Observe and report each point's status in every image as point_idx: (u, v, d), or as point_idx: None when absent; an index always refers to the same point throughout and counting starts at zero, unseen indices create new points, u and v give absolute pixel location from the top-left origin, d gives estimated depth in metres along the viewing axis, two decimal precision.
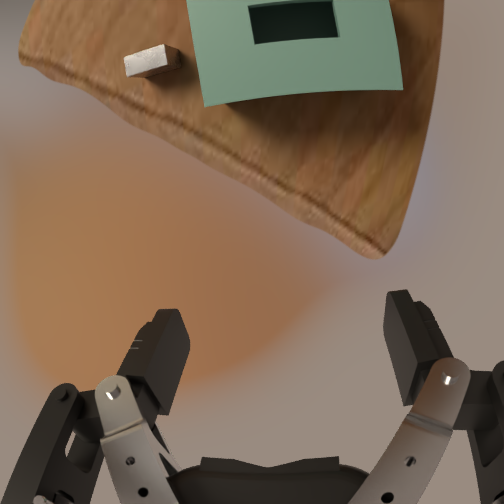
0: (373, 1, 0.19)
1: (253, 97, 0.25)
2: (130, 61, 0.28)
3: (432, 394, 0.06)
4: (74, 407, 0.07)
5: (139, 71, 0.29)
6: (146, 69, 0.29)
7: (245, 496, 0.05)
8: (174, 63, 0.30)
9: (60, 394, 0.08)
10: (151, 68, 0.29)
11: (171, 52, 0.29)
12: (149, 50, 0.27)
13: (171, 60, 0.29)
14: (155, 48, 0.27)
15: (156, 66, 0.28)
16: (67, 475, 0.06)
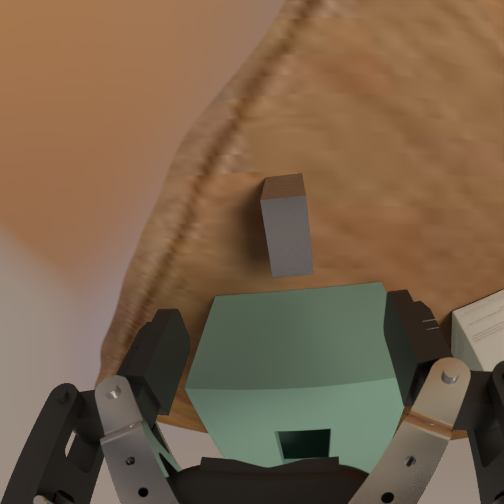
0: None
1: (204, 424, 0.20)
2: (294, 208, 0.17)
3: (432, 394, 0.06)
4: (74, 407, 0.07)
5: (267, 226, 0.18)
6: (269, 240, 0.18)
7: (245, 496, 0.05)
8: None
9: (60, 394, 0.08)
10: (269, 248, 0.19)
11: None
12: (307, 248, 0.18)
13: None
14: (308, 259, 0.19)
15: (271, 259, 0.19)
16: (67, 475, 0.06)
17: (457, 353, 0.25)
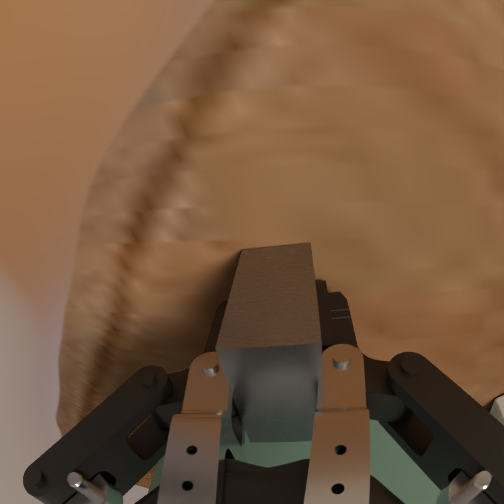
0: None
1: None
2: (292, 365, 0.07)
3: (331, 383, 0.07)
4: (166, 390, 0.08)
5: (235, 387, 0.08)
6: (240, 405, 0.08)
7: (245, 496, 0.05)
8: None
9: (146, 378, 0.08)
10: None
11: None
12: None
13: None
14: None
15: (247, 425, 0.09)
16: (119, 459, 0.07)
17: None
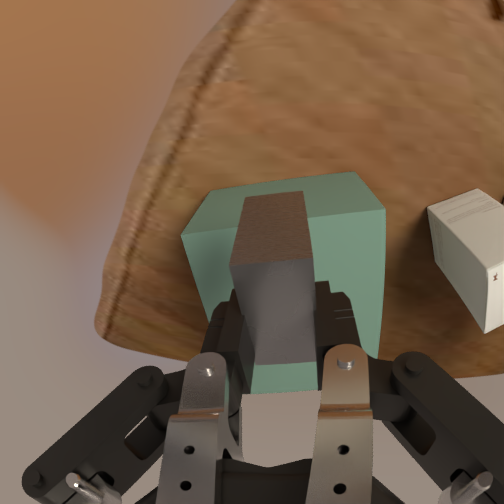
0: None
1: (198, 287, 0.24)
2: (291, 279, 0.10)
3: (335, 383, 0.07)
4: (162, 390, 0.08)
5: (244, 304, 0.10)
6: (247, 322, 0.11)
7: (245, 496, 0.05)
8: None
9: (143, 378, 0.08)
10: (249, 331, 0.11)
11: None
12: (311, 332, 0.11)
13: None
14: (312, 345, 0.11)
15: (253, 345, 0.11)
16: (117, 459, 0.07)
17: (438, 248, 0.28)
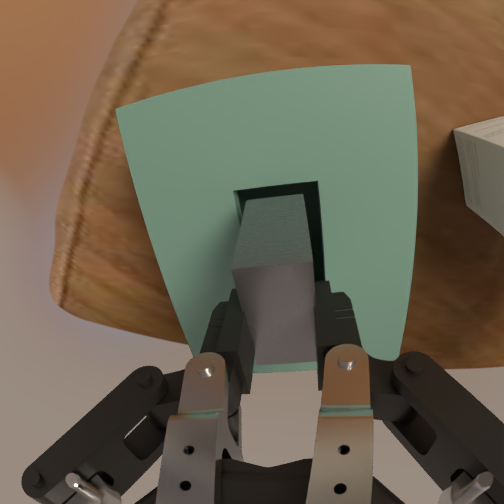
0: None
1: (137, 190, 0.15)
2: (291, 282, 0.10)
3: (336, 383, 0.07)
4: (161, 390, 0.08)
5: (246, 306, 0.11)
6: (249, 324, 0.11)
7: (245, 496, 0.05)
8: None
9: (142, 378, 0.08)
10: None
11: None
12: (311, 333, 0.11)
13: None
14: (312, 346, 0.11)
15: (255, 345, 0.12)
16: (117, 459, 0.07)
17: (472, 180, 0.20)
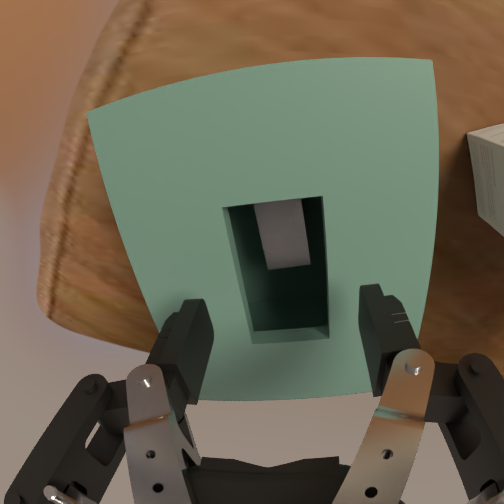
0: (325, 382, 0.17)
1: (113, 206, 0.13)
2: None
3: (398, 386, 0.07)
4: (104, 398, 0.08)
5: (259, 215, 0.17)
6: (261, 230, 0.17)
7: (245, 496, 0.05)
8: None
9: (88, 385, 0.08)
10: (263, 239, 0.18)
11: None
12: (302, 237, 0.17)
13: None
14: (304, 249, 0.17)
15: (265, 250, 0.18)
16: (84, 467, 0.06)
17: (487, 189, 0.18)
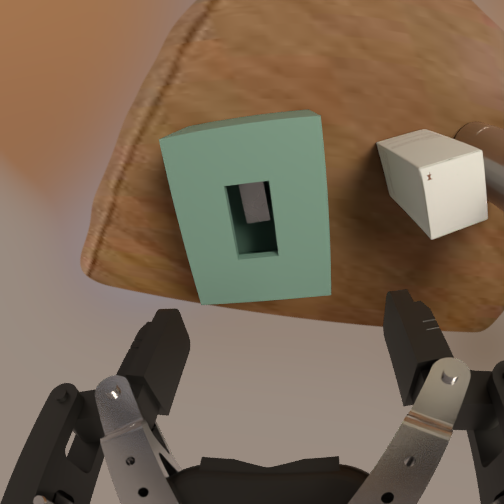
0: (280, 287, 0.32)
1: (170, 185, 0.28)
2: (256, 182, 0.31)
3: (432, 394, 0.06)
4: (74, 407, 0.07)
5: (242, 193, 0.32)
6: (243, 201, 0.32)
7: (245, 496, 0.05)
8: None
9: (60, 394, 0.08)
10: (244, 206, 0.33)
11: None
12: (265, 204, 0.32)
13: None
14: (266, 211, 0.33)
15: (245, 212, 0.33)
16: (67, 475, 0.06)
17: (388, 177, 0.33)
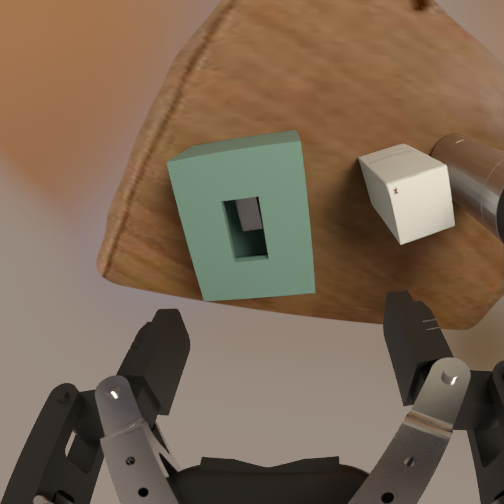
0: (271, 286, 0.38)
1: (176, 200, 0.34)
2: None
3: (432, 394, 0.06)
4: (74, 407, 0.07)
5: (238, 205, 0.37)
6: (239, 212, 0.38)
7: (245, 496, 0.05)
8: None
9: (60, 394, 0.08)
10: (240, 216, 0.38)
11: None
12: (258, 215, 0.38)
13: None
14: (259, 221, 0.38)
15: (241, 221, 0.38)
16: (67, 475, 0.06)
17: (369, 189, 0.38)
